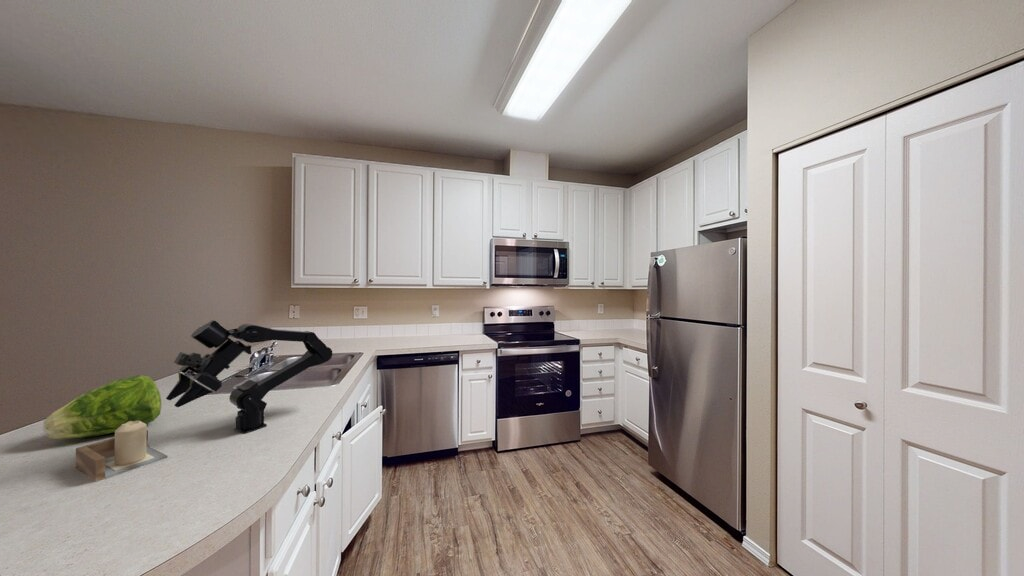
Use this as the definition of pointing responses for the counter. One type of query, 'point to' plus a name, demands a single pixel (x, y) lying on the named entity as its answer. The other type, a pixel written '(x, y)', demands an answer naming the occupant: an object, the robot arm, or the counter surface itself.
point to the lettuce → (106, 409)
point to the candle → (130, 442)
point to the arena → (109, 459)
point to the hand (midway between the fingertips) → (171, 402)
